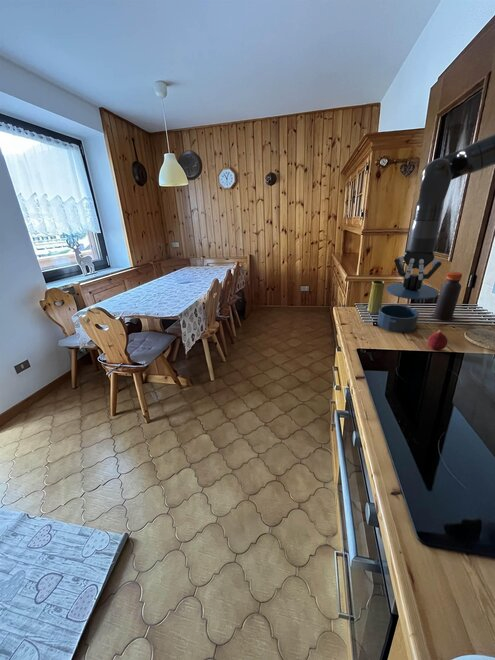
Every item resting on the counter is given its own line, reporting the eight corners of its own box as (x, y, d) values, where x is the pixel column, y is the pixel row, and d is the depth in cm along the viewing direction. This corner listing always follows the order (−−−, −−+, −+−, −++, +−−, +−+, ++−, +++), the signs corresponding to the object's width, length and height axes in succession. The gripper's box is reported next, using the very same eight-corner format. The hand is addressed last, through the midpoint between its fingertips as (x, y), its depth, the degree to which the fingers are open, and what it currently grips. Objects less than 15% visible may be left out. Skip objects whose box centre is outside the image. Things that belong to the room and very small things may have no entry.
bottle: (434, 313, 128) (446, 270, 119) (452, 317, 124) (466, 272, 115) (432, 319, 123) (443, 274, 114) (450, 322, 119) (464, 276, 110)
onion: (448, 354, 99) (454, 334, 95) (431, 355, 99) (436, 335, 95) (438, 346, 104) (443, 326, 100) (422, 346, 104) (427, 327, 100)
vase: (378, 308, 137) (383, 279, 130) (382, 313, 131) (387, 283, 125) (365, 308, 138) (369, 280, 131) (369, 313, 132) (373, 284, 126)
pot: (419, 320, 123) (422, 306, 120) (409, 339, 109) (413, 324, 106) (384, 313, 131) (386, 300, 128) (371, 330, 117) (373, 316, 114)
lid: (440, 289, 95) (444, 271, 92) (434, 304, 85) (439, 285, 82) (391, 283, 104) (394, 267, 101) (380, 296, 93) (383, 278, 90)
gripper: (395, 236, 87) (386, 289, 95) (449, 238, 79) (434, 296, 87) (400, 232, 92) (391, 283, 100) (451, 234, 84) (437, 289, 92)
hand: (411, 289), depth 94 cm, fingers closed on lid, 2 cm apart
